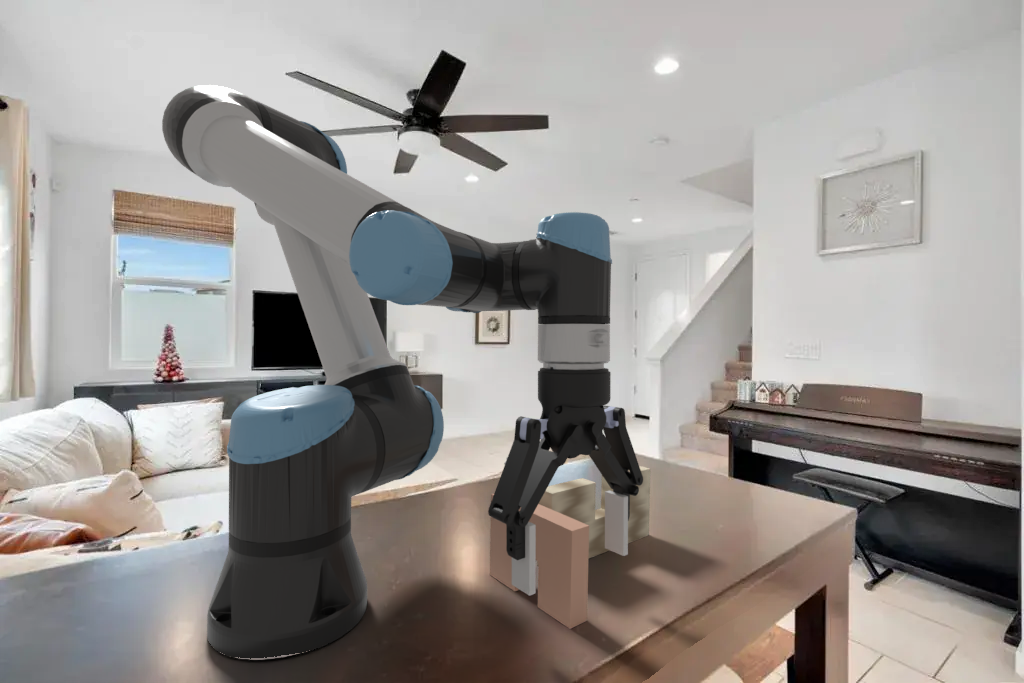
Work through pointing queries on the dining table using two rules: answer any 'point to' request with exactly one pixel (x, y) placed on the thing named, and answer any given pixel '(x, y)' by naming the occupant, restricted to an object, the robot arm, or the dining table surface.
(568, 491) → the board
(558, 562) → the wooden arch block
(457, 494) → the dining table surface
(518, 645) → the dining table surface
